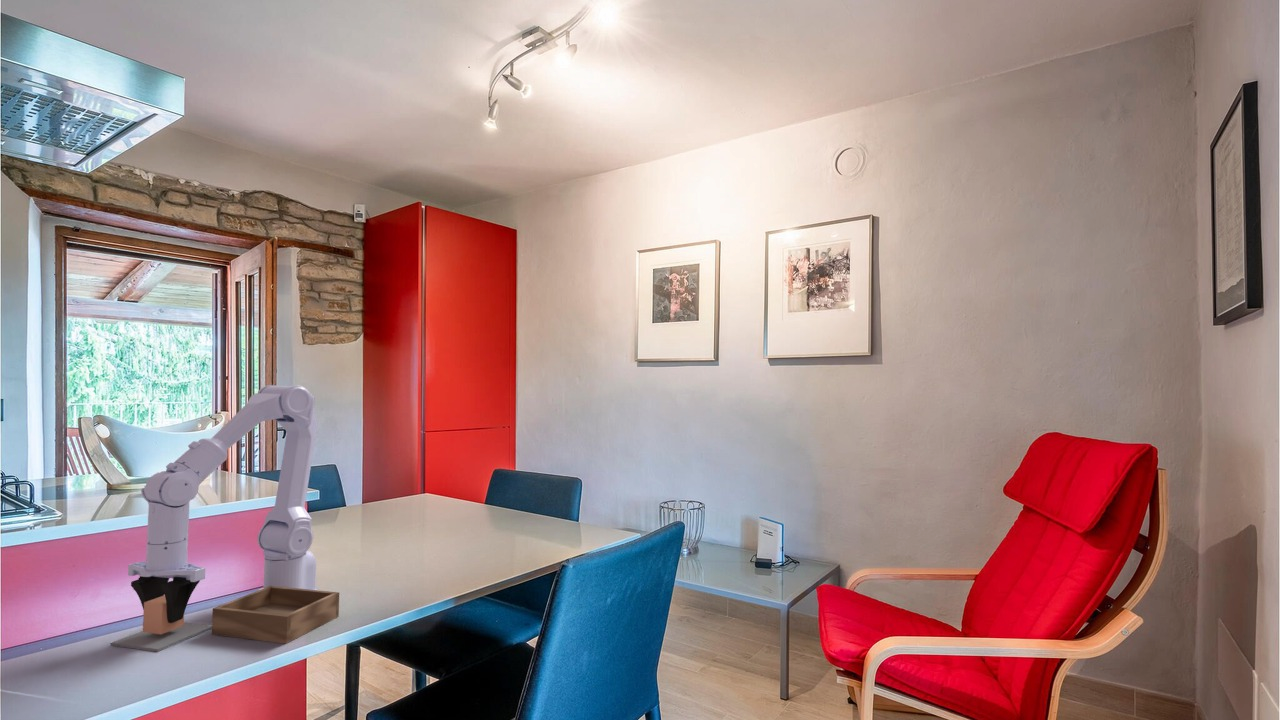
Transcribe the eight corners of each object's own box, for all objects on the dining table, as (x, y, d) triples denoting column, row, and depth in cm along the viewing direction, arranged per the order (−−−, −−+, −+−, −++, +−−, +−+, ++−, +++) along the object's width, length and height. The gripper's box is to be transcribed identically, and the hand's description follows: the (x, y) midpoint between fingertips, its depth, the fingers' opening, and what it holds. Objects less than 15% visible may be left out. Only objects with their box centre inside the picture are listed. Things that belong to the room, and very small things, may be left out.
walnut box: (269, 609, 119) (270, 585, 119) (338, 616, 116) (339, 592, 116) (211, 634, 107) (212, 608, 107) (286, 643, 103) (287, 616, 104)
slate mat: (168, 622, 112) (168, 620, 112) (213, 628, 110) (213, 625, 110) (110, 645, 102) (110, 642, 102) (158, 651, 100) (158, 649, 100)
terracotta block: (165, 622, 108) (166, 594, 108) (183, 625, 107) (184, 596, 107) (142, 631, 104) (144, 602, 104) (161, 634, 103) (162, 604, 104)
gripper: (111, 543, 104) (107, 624, 104) (179, 549, 101) (175, 632, 100) (152, 533, 111) (149, 609, 110) (217, 539, 108) (214, 616, 107)
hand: (164, 619), depth 106 cm, fingers open, 4 cm apart
